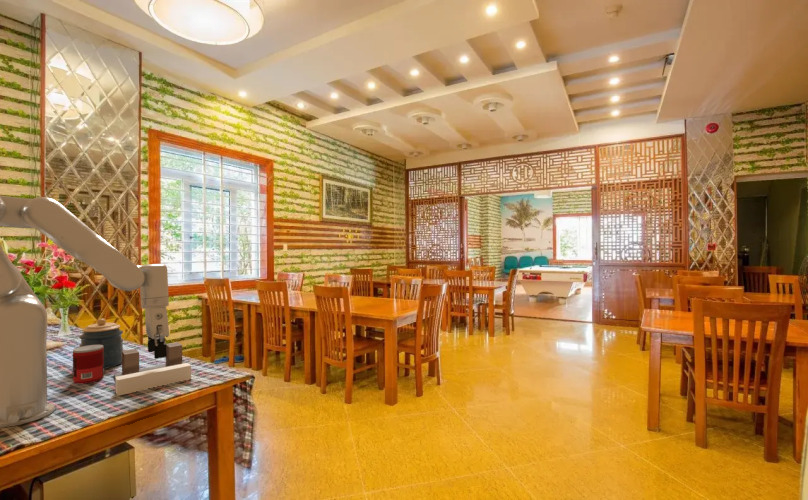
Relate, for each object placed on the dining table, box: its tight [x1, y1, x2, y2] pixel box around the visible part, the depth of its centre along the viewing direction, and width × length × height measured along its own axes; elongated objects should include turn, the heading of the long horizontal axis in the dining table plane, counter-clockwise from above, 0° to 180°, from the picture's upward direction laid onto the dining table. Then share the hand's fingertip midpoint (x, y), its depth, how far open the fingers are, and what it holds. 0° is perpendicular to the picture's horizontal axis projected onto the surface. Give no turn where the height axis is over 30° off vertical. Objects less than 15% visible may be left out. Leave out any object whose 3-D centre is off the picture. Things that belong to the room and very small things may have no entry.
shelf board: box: [114, 362, 192, 397], centre depth 121 cm, size 4×20×5 cm, turn 134°
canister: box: [78, 318, 124, 369], centre depth 141 cm, size 13×13×18 cm
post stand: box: [113, 341, 186, 379], centre depth 132 cm, size 10×21×9 cm, turn 134°
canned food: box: [72, 345, 105, 385], centre depth 126 cm, size 8×8×11 cm
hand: (157, 354), depth 121 cm, fingers open, 9 cm apart
